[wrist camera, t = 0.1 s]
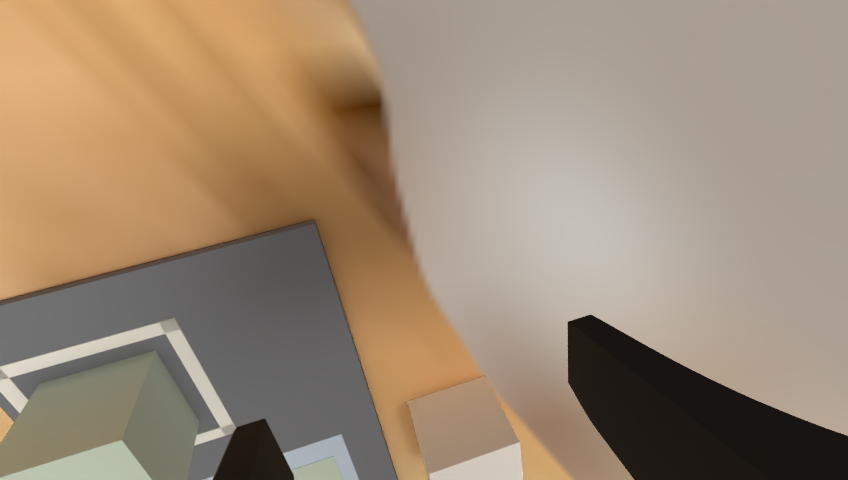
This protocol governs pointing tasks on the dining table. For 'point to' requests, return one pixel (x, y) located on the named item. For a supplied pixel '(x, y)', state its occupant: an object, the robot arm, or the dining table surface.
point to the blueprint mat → (217, 348)
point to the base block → (103, 426)
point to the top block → (466, 434)
